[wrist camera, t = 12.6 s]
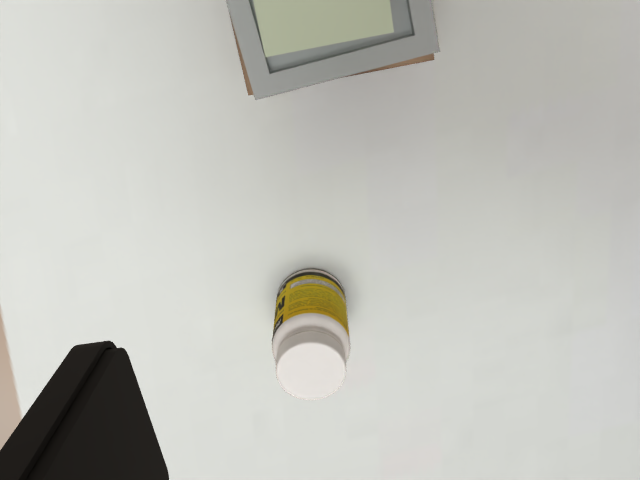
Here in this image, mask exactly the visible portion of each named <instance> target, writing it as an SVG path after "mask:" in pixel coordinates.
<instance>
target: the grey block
mask: <svg viewBox="0 0 640 480" xmlns="http://www.w3.org/2000/svg"><path fill="white" fill-rule="evenodd" d="M226 3H227V6H228V9H229V13H230V16H231V20H232V23H233V26H234V30H235V33H236V36H237V40H238V43H239V47H240V50H241V53H242V57H243V60H244V63H245V67H246V70H247V74H248V77H249V80H250V84H251V87H252V90H253V94H254V97H255V100H258V99H262V98H265V97H269V96H273V95H277V94H281V93H284V92H288V91H292V90H296V89H300V88H303V87H307V86H311V85H315V84H318V83H322V82H326V81H330V80H334V79H337V78H341V77H345V76H349V75H353V74H356V73H360V72H364V71H368V70H372V69H375V68H379V67H383V66H387V65H391V64H394V63H398V62H402V61H406V60H410V59H413V58H417V57H421V56H425V55H429V54H432V53H436V52H440V48H439V42H438V36H437V30H436V24H435V18H434V12H433V7H432V1H431V0H390V6H391V13H392V21H393V29H394V32H393V33H388V34H382V35H377V36H372V37H367V38H362V39H357V40H352V41H346V42H341V43H336V44H331V45H326V46H321V47H316V48H311V49H305V50H300V51H295V52H290V53H285V54H280V55H275V56H269V57H265V54H264V49H263V44H262V40H261V35H260V30H259V26H258V21H257V16H256V12H255V7H254V2H253V0H226Z"/></svg>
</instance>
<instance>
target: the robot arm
mask: <svg viewBox="0 0 640 480" xmlns="http://www.w3.org/2000/svg"><path fill="white" fill-rule="evenodd" d="M0 480H169V475H168V470H167V467H166V464H165V461H164V458H163V455H162V452H161V449H160V446H159V443H158V440H157V438H156V435H155V432H154V429H153V426H152V423H151V420H150V417H149V414H148V411H147V408H146V406H145V403H144V400H143V397H142V394H141V391H140V388H139V385H138V382H137V379H136V376H135V373H134V371H133V368H132V365H131V362H130V359H129V356H128V354H127V352H126V350H125V349H123V348H116V346H115V345H114V343H113V342H111V341H103V342H96V343H89V344H81V345H76V346H74V347H73V348H72V349H71V350H70V352H69V353H68V355H67V356H66V358H65V359H64V360H63V362H62V363H61V365H60V366H59V368H58V369H57V370H56V372H55V373H54V375H53V376H52V377H51V379H50V380H49V382H48V383H47V385H46V386H45V387H44V389H43V390H42V392H41V393H40V395H39V396H38V397H37V399H36V400H35V402H34V403H33V405H32V406H31V407H30V409H29V410H28V412H27V413H26V415H25V416H24V417H23V419H22V420H21V422H20V423H19V425H18V426H17V428H16V429H15V430H14V432H13V433H12V435H11V436H10V438H9V439H8V440H7V442H6V443H5V445H4V446H3V448H2V449H1V450H0Z"/></svg>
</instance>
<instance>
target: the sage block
mask: <svg viewBox="0 0 640 480" xmlns="http://www.w3.org/2000/svg"><path fill="white" fill-rule="evenodd" d="M253 2H254V7H255V12H256V16H257V21H258V26H259V30H260V35H261V40H262V44H263V49H264V54H265V57H269V56H275V55H280V54H285V53H290V52H295V51H300V50H305V49H311V48H316V47H321V46H326V45H331V44H336V43H341V42H346V41H352V40H357V39H362V38H367V37H372V36H377V35H382V34H388V33H393V32H394V29H393V21H392V13H391V6H390V0H253Z"/></svg>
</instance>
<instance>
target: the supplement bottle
mask: <svg viewBox="0 0 640 480" xmlns="http://www.w3.org/2000/svg"><path fill="white" fill-rule="evenodd" d="M272 352H273V356H274V359H275V361H276V376H277V380H278V382H279V384H280V385H281V387H282V388H283V389H284V390H285V391H286V392H287V393H289V394H290V395H292V396H294V397H296V398H299V399H304V400H318V399H322V398H325V397H328V396H330V395H331V394H333V393H335V392H336V391H337V390H338V389H339V388H340V387H341V385H342V384H343V382H344V379H345V376H346V362H347V360H348V358H349V354H350V338H349V328H348V318H347V307H346V297H345V293H344V290H343V288H342V286H341V284H340V283H339V281H338V280H337V279H336V278H335V277H333V276H332V275H330V274H329V273H327V272H324V271H321V270H314V269H310V270H303V271H299V272H296V273H294V274H292V275H291V276H289V277H288V278H287V279H286V280H285V281H284V282H283V283H282V285H281V286H280V288H279V291H278V294H277V300H276V310H275V319H274V330H273V338H272Z"/></svg>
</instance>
